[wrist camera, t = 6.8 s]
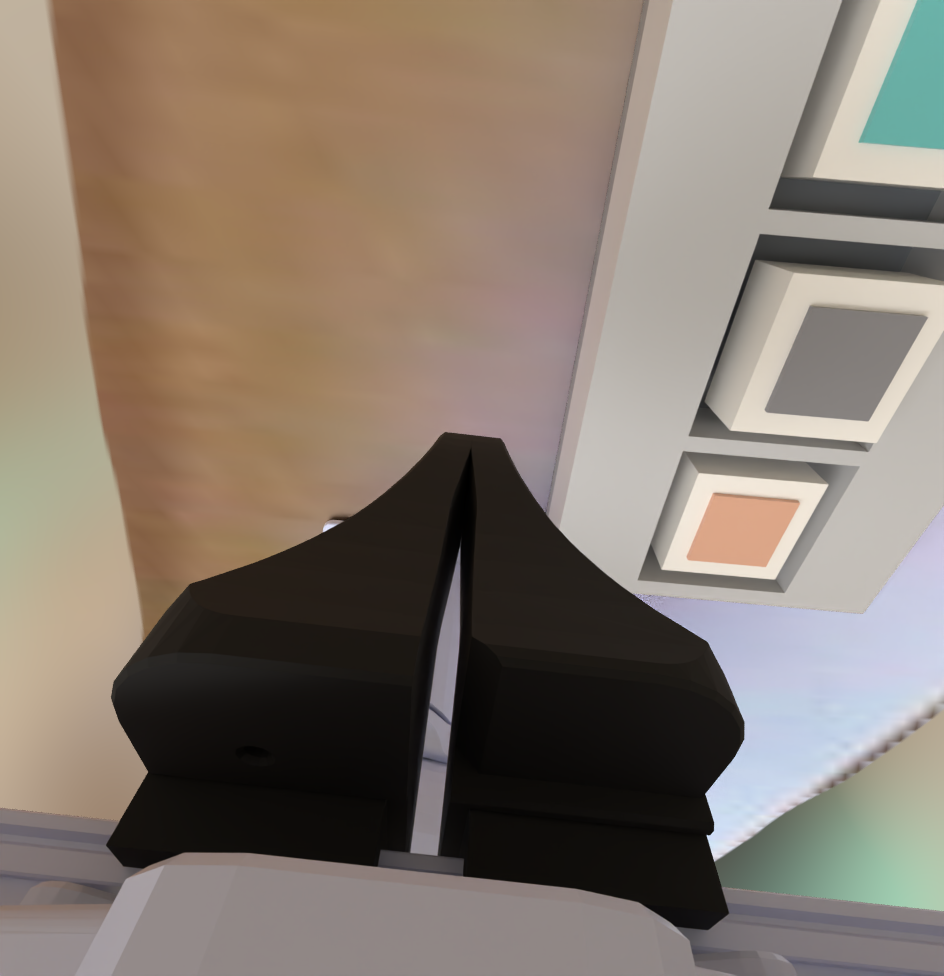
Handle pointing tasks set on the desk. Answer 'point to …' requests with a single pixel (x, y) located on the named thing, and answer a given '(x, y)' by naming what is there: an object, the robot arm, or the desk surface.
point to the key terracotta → (735, 514)
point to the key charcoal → (824, 350)
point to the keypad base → (734, 309)
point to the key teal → (876, 99)
